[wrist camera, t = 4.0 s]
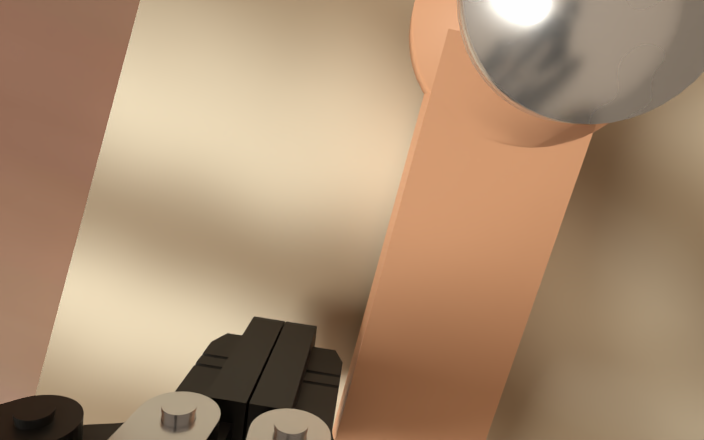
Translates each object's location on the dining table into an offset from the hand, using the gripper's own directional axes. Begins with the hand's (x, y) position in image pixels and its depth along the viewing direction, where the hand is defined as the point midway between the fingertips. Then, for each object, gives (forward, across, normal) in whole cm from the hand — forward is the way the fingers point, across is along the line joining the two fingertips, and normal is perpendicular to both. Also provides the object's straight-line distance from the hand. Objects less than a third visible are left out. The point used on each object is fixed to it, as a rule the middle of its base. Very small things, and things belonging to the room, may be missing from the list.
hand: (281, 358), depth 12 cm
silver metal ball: (-1, -4, -8) cm, 9 cm away
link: (+1, -3, -1) cm, 4 cm away
